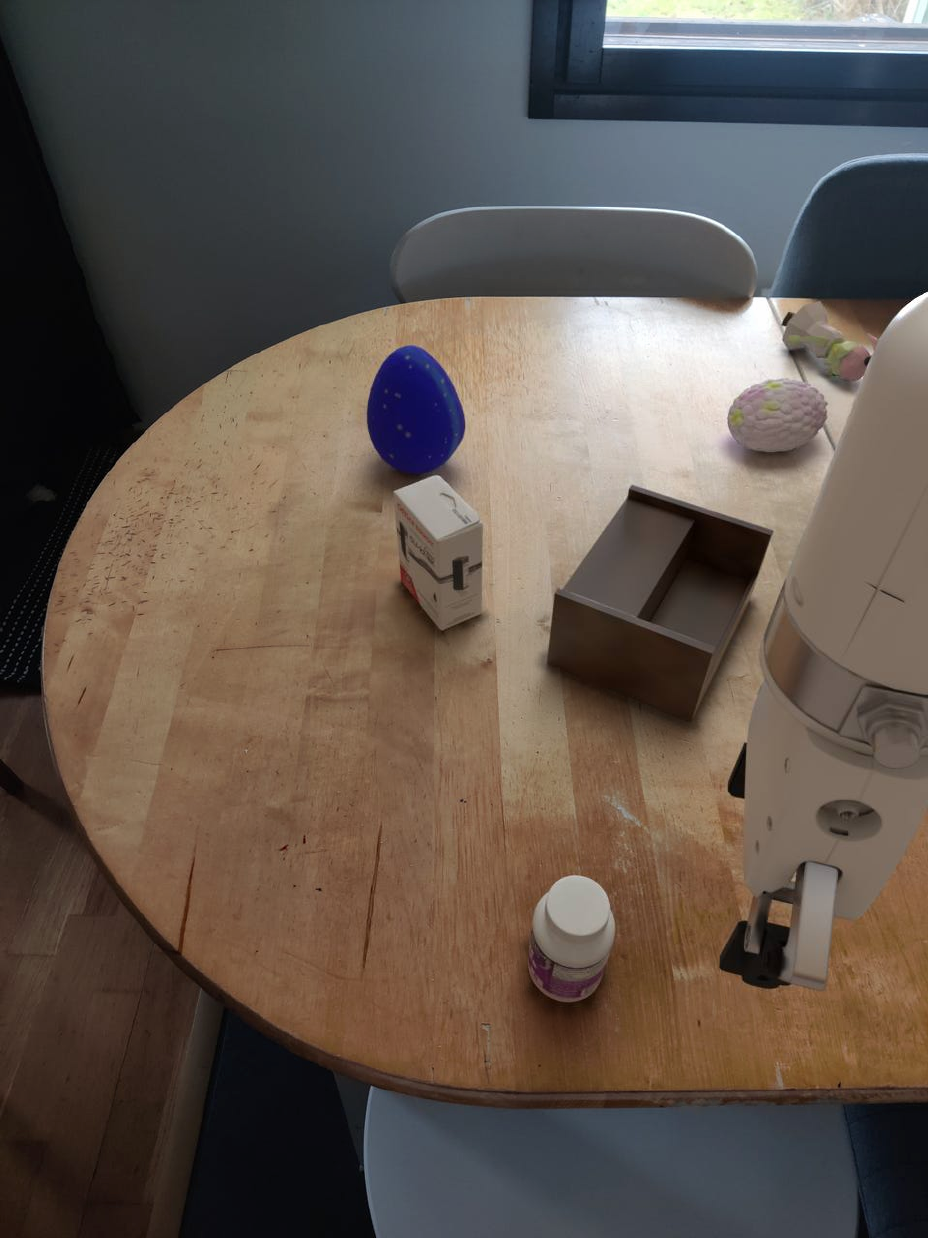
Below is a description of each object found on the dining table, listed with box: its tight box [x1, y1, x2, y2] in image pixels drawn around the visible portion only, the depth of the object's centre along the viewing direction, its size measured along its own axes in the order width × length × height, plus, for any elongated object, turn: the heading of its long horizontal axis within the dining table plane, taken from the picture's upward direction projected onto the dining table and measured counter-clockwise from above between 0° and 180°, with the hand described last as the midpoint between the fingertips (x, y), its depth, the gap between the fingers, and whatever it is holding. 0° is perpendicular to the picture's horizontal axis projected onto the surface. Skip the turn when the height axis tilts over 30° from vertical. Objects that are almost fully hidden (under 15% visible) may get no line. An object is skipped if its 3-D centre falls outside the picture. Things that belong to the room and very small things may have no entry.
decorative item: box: [726, 377, 829, 453], centre depth 102 cm, size 9×11×10 cm
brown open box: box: [546, 484, 774, 723], centre depth 79 cm, size 14×18×9 cm
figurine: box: [781, 300, 879, 383], centre depth 115 cm, size 9×7×15 cm
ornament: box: [366, 344, 466, 475], centre depth 96 cm, size 11×9×15 cm
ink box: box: [393, 475, 484, 631], centre depth 81 cm, size 8×5×12 cm, turn 31°
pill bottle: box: [527, 874, 616, 1003], centre depth 56 cm, size 5×5×10 cm
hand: (754, 877), depth 43 cm, fingers open, 9 cm apart
